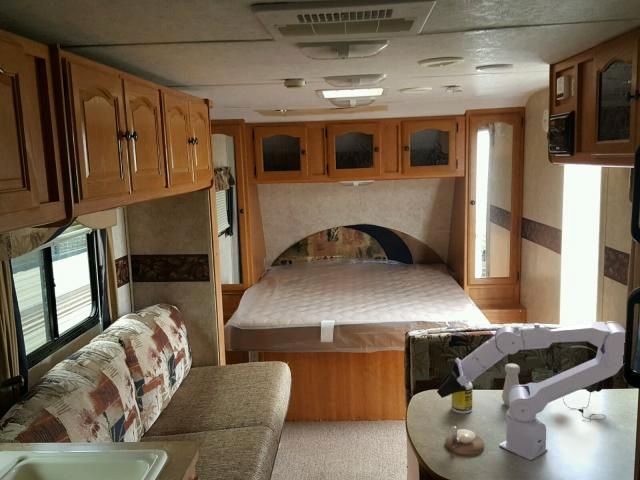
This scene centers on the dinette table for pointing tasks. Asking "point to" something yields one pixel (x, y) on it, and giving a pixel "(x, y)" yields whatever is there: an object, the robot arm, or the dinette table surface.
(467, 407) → the pill bottle
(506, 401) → the salt shaker
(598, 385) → the headphones
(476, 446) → the base
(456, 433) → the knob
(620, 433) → the dinette table surface
